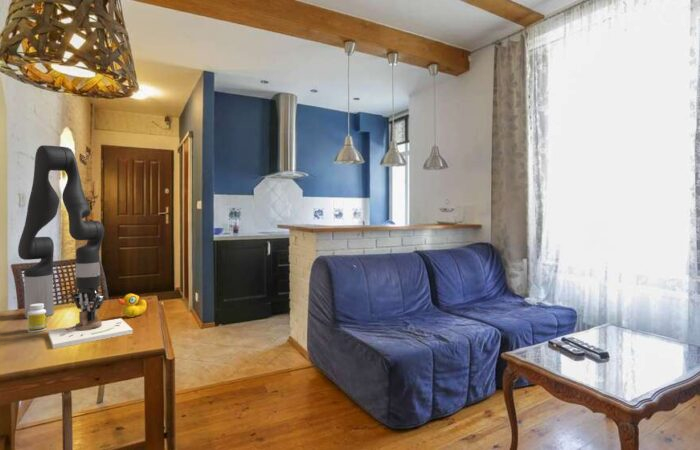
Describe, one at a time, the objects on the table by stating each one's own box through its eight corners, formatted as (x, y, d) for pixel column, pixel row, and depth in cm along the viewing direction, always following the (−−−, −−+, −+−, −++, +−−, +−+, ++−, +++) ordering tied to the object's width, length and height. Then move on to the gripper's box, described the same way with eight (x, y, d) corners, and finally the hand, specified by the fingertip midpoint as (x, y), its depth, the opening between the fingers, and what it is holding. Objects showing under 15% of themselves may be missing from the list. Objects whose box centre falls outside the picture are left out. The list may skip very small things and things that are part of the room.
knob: (90, 322, 143) (90, 306, 143) (106, 324, 141) (106, 308, 141) (58, 332, 132) (58, 315, 132) (75, 334, 130) (75, 317, 129)
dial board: (47, 334, 134) (47, 329, 134) (121, 321, 150) (121, 317, 150) (53, 348, 121) (53, 343, 121) (132, 333, 137) (132, 328, 137)
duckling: (122, 321, 151) (121, 297, 150) (115, 319, 154) (114, 295, 153) (149, 314, 161) (149, 291, 160) (142, 312, 163) (142, 290, 163)
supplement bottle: (48, 330, 139) (48, 304, 138) (30, 333, 134) (29, 307, 134) (43, 327, 142) (43, 301, 142) (25, 330, 137) (25, 304, 137)
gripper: (63, 275, 136) (64, 321, 137) (92, 277, 132) (93, 325, 133) (83, 271, 143) (84, 316, 144) (111, 274, 139) (112, 319, 140)
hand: (88, 320), depth 138 cm, fingers closed on knob, 2 cm apart
